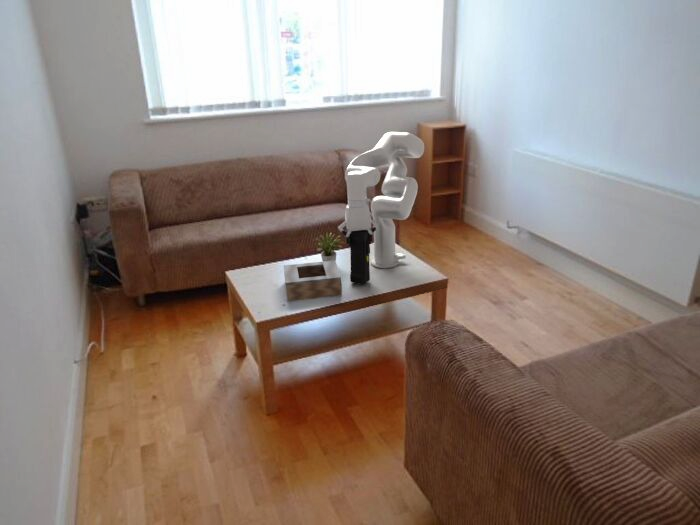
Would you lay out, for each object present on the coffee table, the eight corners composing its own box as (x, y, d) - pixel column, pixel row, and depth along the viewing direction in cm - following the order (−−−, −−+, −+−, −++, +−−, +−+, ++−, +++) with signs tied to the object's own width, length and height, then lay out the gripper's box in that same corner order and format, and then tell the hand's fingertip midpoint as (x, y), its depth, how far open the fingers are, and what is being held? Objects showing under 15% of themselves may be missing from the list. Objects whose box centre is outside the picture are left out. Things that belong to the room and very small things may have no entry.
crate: (336, 277, 225) (335, 260, 222) (342, 295, 209) (341, 277, 206) (285, 282, 222) (283, 265, 219) (287, 301, 206) (285, 282, 203)
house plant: (324, 276, 227) (322, 241, 221) (306, 267, 237) (303, 233, 231) (349, 267, 235) (348, 233, 229) (331, 259, 245) (329, 226, 239)
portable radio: (372, 280, 219) (372, 224, 209) (365, 285, 215) (365, 228, 205) (356, 276, 223) (356, 221, 213) (349, 281, 218) (348, 225, 208)
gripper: (376, 198, 209) (378, 238, 216) (334, 202, 207) (336, 243, 214) (380, 203, 203) (382, 245, 210) (336, 207, 200) (339, 249, 207)
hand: (359, 243), depth 212 cm, fingers closed on portable radio, 7 cm apart
